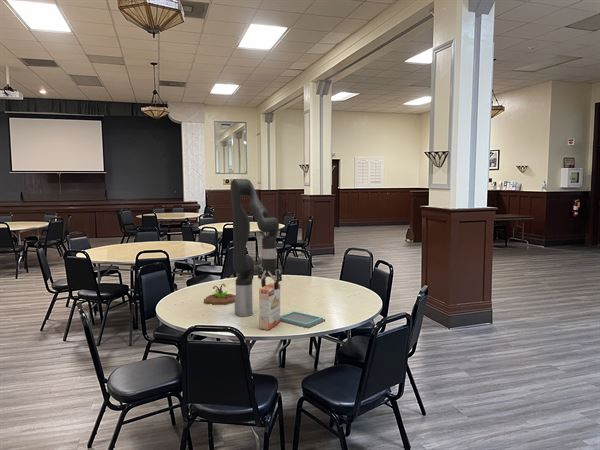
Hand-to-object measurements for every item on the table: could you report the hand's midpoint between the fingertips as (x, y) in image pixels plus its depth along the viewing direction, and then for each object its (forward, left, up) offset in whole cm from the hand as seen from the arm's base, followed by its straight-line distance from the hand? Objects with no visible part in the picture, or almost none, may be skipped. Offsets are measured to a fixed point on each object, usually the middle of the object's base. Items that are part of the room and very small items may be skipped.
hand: (270, 288), depth 222 cm
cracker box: (0, 0, -20) cm, 20 cm away
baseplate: (+7, +16, -20) cm, 26 cm away
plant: (-57, +17, -20) cm, 63 cm away
